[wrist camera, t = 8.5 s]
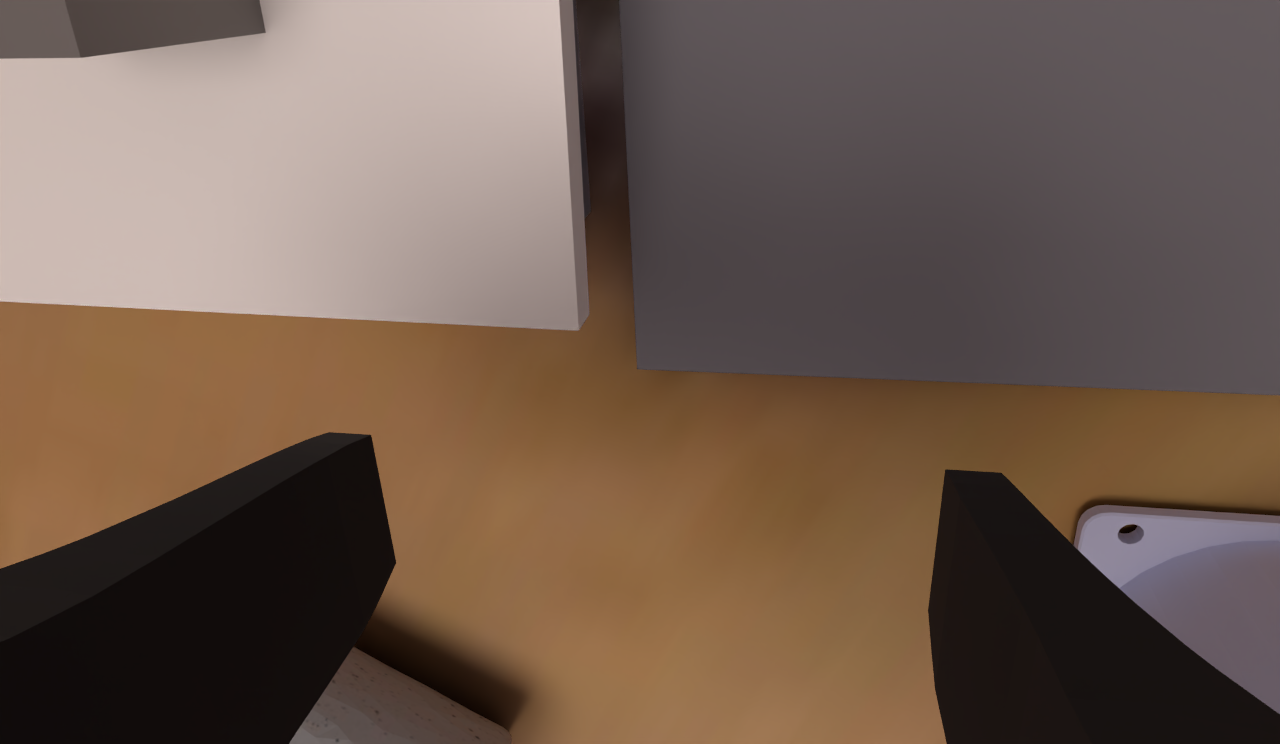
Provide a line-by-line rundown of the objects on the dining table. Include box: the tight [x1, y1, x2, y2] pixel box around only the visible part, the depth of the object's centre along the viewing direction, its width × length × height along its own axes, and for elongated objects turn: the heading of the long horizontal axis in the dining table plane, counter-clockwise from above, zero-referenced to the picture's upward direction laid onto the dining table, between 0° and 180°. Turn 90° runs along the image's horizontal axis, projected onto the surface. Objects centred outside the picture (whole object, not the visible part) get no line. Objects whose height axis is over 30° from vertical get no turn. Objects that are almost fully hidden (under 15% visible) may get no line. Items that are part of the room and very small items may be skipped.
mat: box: [619, 0, 1280, 395], centre depth 16 cm, size 14×14×1 cm
